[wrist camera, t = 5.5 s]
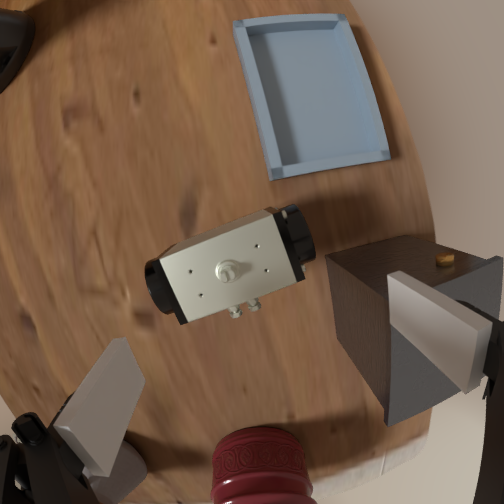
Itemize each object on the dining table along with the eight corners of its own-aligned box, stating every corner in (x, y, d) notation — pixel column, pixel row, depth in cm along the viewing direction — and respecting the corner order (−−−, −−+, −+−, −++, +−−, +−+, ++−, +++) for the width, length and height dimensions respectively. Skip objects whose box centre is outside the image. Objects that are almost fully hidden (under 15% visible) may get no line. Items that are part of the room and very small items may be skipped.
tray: (233, 34, 25) (232, 21, 22) (336, 26, 25) (344, 14, 22) (269, 181, 28) (273, 179, 25) (378, 161, 28) (391, 159, 25)
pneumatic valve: (168, 242, 29) (126, 274, 17) (278, 199, 28) (307, 203, 17) (189, 292, 30) (164, 349, 18) (297, 251, 30) (334, 287, 18)
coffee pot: (161, 471, 35) (147, 543, 21) (105, 468, 35) (81, 529, 21) (101, 370, 31) (50, 450, 17) (42, 373, 31) (-12, 433, 16)
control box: (320, 250, 30) (389, 299, 15) (407, 229, 30) (503, 255, 15) (334, 342, 32) (387, 427, 17) (412, 316, 32) (487, 375, 17)
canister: (306, 466, 36) (328, 554, 19) (226, 479, 36) (226, 568, 19) (296, 415, 34) (326, 525, 17) (200, 431, 34) (189, 541, 16)
